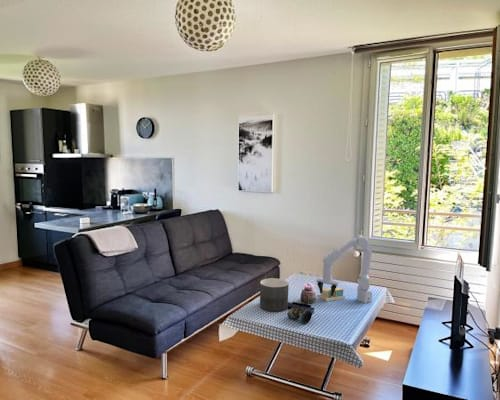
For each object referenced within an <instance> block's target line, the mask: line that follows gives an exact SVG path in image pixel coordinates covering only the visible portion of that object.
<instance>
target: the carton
mask: <svg viewBox="0 0 500 400" xmlns="http://www.w3.org/2000/svg"><path fill="white" fill-rule="evenodd" d="M321 295H322V299H321V300H323V301H324V300H326V298H331V288H327V287H326V288H324V289H323V290H322V294H321Z"/></svg>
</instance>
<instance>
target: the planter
mask: <svg viewBox="0 0 500 400" xmlns="http://www.w3.org/2000/svg"><path fill="white" fill-rule="evenodd" d="M259 283H260V284H259V285H260V286H259V308H260V309H261V310H263V311H265V312H271V313H277V312H278V313H279V312H284V311H286V310H287V309H288V307H289V306H288V305H289V281H287V280H286V279H283V278H277V277H276V278H274V277H271V278H264V279H261V280H260V281H259Z"/></svg>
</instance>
